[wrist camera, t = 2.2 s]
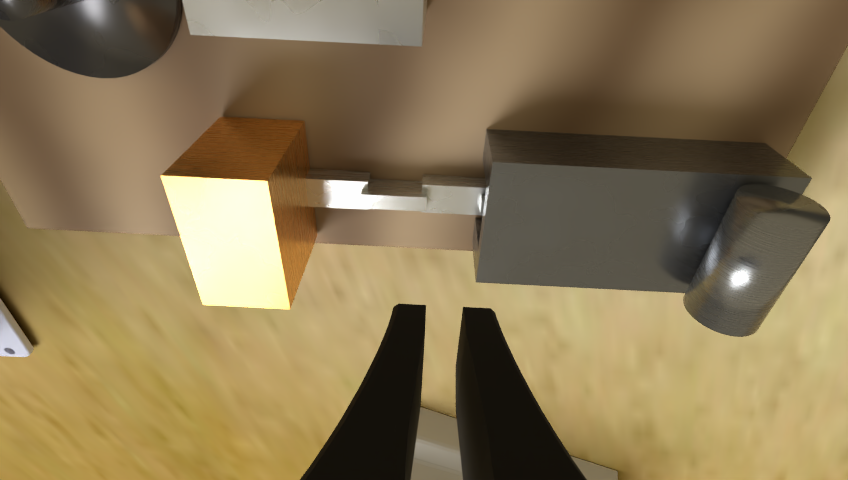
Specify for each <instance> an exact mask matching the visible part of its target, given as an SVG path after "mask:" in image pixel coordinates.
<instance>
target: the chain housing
mask: <svg viewBox="0 0 848 480" xmlns="http://www.w3.org/2000/svg"><path fill="white" fill-rule="evenodd" d="M483 166H484V172H485V179H486V185H487V187H486V194H485V202H484V209H483V216H482V218H475V223H474V231H473V239H472V244H473V256H474V267H475V278H476V282H481V283H500V284H520V285H540V286H559V287H579V288H598V289H618V290H637V291H657V292H676V293H685V295H684V299H683V301H684V306H685V308H686V310H687V311H688V312H689V314H690V315H691V316H692V317H693V318H694V319H696V320H697V321H698V322H699V323H701V324H702V325H704V326H706V327H707V328H709V329H711V330H714V331H716V332H719V333H722V334H725V335H730V336H737V337H743V336H749V335H752V334H754V333H755V332H756V331H757V330H758V329H759V327H760V325H761V324H762V322H763V321H764V319H765V318H766V316H767V315H768V313H769V312H770V310H771V309H772V307H773V306H774V304H775V303H776V301H777V300H778V298H779V297H780V295H781V294H782V292H783V291H784V289H785V288H786V286H787V285H788V283H789V282H790V280H791V279H792V277H793V276H794V274H795V273H796V271H797V270H798V268H799V267H800V265H801V264H802V262H803V261H804V259H805V258H806V256H807V255H808V253H809V252H810V250H811V249H812V247H813V246H814V244H815V243H816V241H817V240H818V238H819V236H820V235H821V233H822V232H823V230H824V229H825V227H826V226H827V224H828V223H829V221H830V215H829V213H828V212H827V210H826V209H825V208H824V207H822V206H821V205H820V204H818V203H817V202H815V201H814V200H812V199H810V198H808V197H806V196H804V195H802V194H803V192H804V191H805V189H806V187H807V186H808V184H809V182H810V180H811V179H812V178H811V177H810V176H808V175H807V174H806V173H804V172H803V171H802V170H800V169H799V168H798V167H796V166H795V165H794V164H792V163H791V162H790V161H789V160H787V159H786V158H785V157H783V156H782V155H781V154H779V153H778V152H777V151H775V150H774V149H773V148H771V147H770V146H769V145H767V144H766V143H754V142H734V141H714V140H695V139H675V138H655V137H635V136H616V135H596V134H576V133H556V132H537V131H517V130H497V129H486V136H485V144H484V152H483Z"/></svg>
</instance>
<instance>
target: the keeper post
mask: <svg viewBox="0 0 848 480" xmlns="http://www.w3.org/2000/svg"><path fill="white" fill-rule="evenodd" d="M182 11H183V2H182V0H0V27H1V28H2V29H3V30H4V31H5V32H7V33H8V34H9V35H10V36H11V37H12V38H13V39H15V40H16V41H17V42H18V43H20V44H21V45H22V46H24V47H25V48H26V49H28V50H29V51H31V52H32V53H34V54H35V55H37V56H39V57H40V58H42V59H44V60H45V61H47V62H49V63H51V64H53V65H55V66H58V67H60V68H62V69H64V70H67V71H70V72H73V73H76V74H80V75H84V76H88V77H96V78H119V77H125V76H129V75H132V74H135V73H137V72H139V71H141V70H143V69H145V68H147V67H148V66H150V65H152V64H154V63H155V62H156V61H158V60H159V59H160V58H161V57H163V55H164V54H165V53H166V52H167V51H168V50H169V48H170V47H171V45H172V43H173V42H174V40H175V38H176V36H177V33H178V30H179V28H180V23H181V19H182Z"/></svg>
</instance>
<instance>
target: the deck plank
mask: <svg viewBox="0 0 848 480" xmlns="http://www.w3.org/2000/svg"><path fill="white" fill-rule="evenodd" d="M847 46H848V0H427V12H426V19H425V26H424V34H423V41H422V47H421V46H401V45H381V44H361V43H341V42H321V41H302V40H282V39H262V38H242V37H222V36H202V35H190V31H189V27H188V23H187V19H186V15H185V10H184V6H183V11H182V19H181V23H180V28H179V30H178V33H177V36H176V38H175V40H174V42H173V43H172V45H171V47H170V48H169V50H168V51H167V52H166V53H165V54H164V55H163V57H161V58H160V59H159V60H158V61H156V62H155V63H154V64H152V65H150V66H148V67H147V68H145V69H143V70H141V71H139V72H137V73H135V74H132V75H129V76H125V77H119V78H96V77H88V76H84V75H80V74H76V73H73V72H70V71H67V70H64V69H62V68H60V67H58V66H55V65H53V64H51V63H49V62H47V61H45V60H44V59H42V58H40V57H39V56H37V55H35V54H34V53H32V52H31V51H29V50H28V49H26V48H25V47H24V46H22V45H21V44H20V43H18V42H17V41H16V40H15V39H13V38H12V37H11V36H10V35H9V34H8V33H7V32H5V31H4V30H3V29H2V28H1V27H0V180H1V182H2V184H3V185H4V187H5V189H6V191H7V193H8V194H9V196H10V198H11V200H12V202H13V203H14V205H15V207H16V209H17V211H18V212H19V214H20V216H21V218H22V219H23V221H24V223H25V225H26V227H27V228H35V229H54V230H74V231H94V232H113V233H133V234H152V235H172V236H180V233H179V230H178V227H177V224H176V221H175V218H174V215H173V212H172V209H171V206H170V203H169V200H168V197H167V193H166V190H165V187H164V184H163V181H162V178H161V175H162V174H163V173H164V172H165V171H166V170H167V169H168V168H169V167H170V166H171V165H172V164H173V163H174V162H175V161H176V160H177V159H178V158H179V157H180V156H181V155H182V154H183V153H184V152H185V151H186V150H187V149H188V148H189V147H190V146H191V145H192V144H193V143H194V142H195V141H196V140H197V139H198V138H199V137H200V136H201V135H202V134H203V133H204V132H205V131H206V130H207V129H208V128H209V127H210V126H211V125H212V124H213V123H214V122H215V121H216V120H217V119H218V118H219V117H238V118H258V119H278V120H298V121H304V122H305V130H306V139H307V148H308V156H309V165H310V169H327V170H347V171H367V172H370V179H387V180H407V181H422V179H423V174H426V175H446V176H465V177H485V172H484V166H483V152H484V144H485V136H486V129H497V130H517V131H537V132H556V133H576V134H596V135H616V136H635V137H655V138H675V139H695V140H714V141H734V142H754V143H766V144H767V145H769V146H770V147H771V148H773V149H774V150H775V151H777V152H778V153H779V154H781V155H782V156H783V157H785V158H787V156H788V154H789V152H790V150H791V148H792V147H793V145H794V143H795V141H796V139H797V137H798V136H799V134H800V132H801V130H802V128H803V126H804V124H805V123H806V121H807V119H808V117H809V115H810V113H811V112H812V110H813V108H814V106H815V104H816V102H817V101H818V99H819V97H820V95H821V93H822V91H823V90H824V88H825V86H826V84H827V82H828V80H829V79H830V77H831V75H832V73H833V71H834V69H835V68H836V66H837V64H838V62H839V60H840V58H841V57H842V55H843V53H844V51H845V49H846V47H847ZM314 209H315V217H316V226H317V238H316V240H315V243H329V244H348V245H368V246H387V247H407V248H427V249H446V250H466V251H473V244H472V239H473V231H474V223H475V218H482V216H483V215H464V214H445V213H425V212H421V211H405V210H385V209H369V210H366V209H346V208H327V207H314Z"/></svg>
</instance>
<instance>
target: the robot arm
mask: <svg viewBox="0 0 848 480" xmlns="http://www.w3.org/2000/svg"><path fill="white" fill-rule="evenodd" d="M425 315H426V305H412V304H398V305H396V306H395V307H393V311H392V315H391V319H390V322H389V325H388V327H387V330H386V333H385V335H384V338H383V340H382V342H381V345H380V347H379V349H378V351H377V354H376V356H375V358H374V360H373V362H372V364H371V366H370V368H369V370H368V372H367V374H366V376H365V378H364V380H363V382H362V384H361V385H360V387H359V389H358V391H357V393H356V394H355V396H354V398H353V399H352V401H351V403H350V405H349V406H348V408H347V410H346V411H345V413H344V415H343V417H342V418H341V420H340V422H339V423H338V425H337V426H336V428H335V430H334V431H333V433H332V434H331V436H330V437H329V439H328V440H327V442H326V443H325V445H324V446H323V448H322V449H321V451H320V452H319V454H318V455H317V457H316V458H315V460H314V461H313V463H312V464H311V465H310V467H309V468H308V470H307V471H306V472H305V474H304V475H303V476H302V478H301V479H300V480H411V473H412V466H413V459H414V451H415V444H416V437H417V429H418V422H419V415H420V405H421V389H422V372H423V355H424V339H425ZM33 350H34V349H33V346H32V345H31V343H30V342H29V340H28V339H27V337H26V336H25V334H24V333H23V331H22V330H21V328H20V327H19V325H18V324H17V322H16V321H15V319H14V318H13V316H12V315H11V313H10V312H9V310H8V309H7V307H6V306H5V304H4V303H3V301H2V300H1V298H0V356H13V357H27V356H29V355H30V354H31V353H32V352H33ZM456 417H457V427H458V437H459V447H460V456H461V466H462V476H463V480H587V479H586V478H585V476H584V475H583V473H582V472H581V471H580V469H579V468H578V466H577V465H576V463H575V462H574V461H573V459H572V458H571V456H570V455H569V453H568V452H567V450H566V449H565V447H564V446H563V444H562V442H561V441H560V439H559V438H558V436H557V435H556V433H555V431H554V430H553V428H552V426H551V425H550V423H549V422H548V420H547V418H546V417H545V415H544V413H543V412H542V410H541V408H540V406H539V405H538V403H537V401H536V400H535V398H534V396H533V394H532V392H531V390H530V388H529V387H528V385H527V383H526V381H525V379H524V377H523V375H522V374H521V372H520V370H519V368H518V366H517V364H516V362H515V360H514V358H513V355H512V353H511V351H510V349H509V347H508V345H507V342H506V340H505V338H504V336H503V333H502V331H501V328H500V326H499V323H498V320H497V318H496V315H495V312H494V311H493V310H492V309H490V308H470V307H463V313H462V321H461V329H460V337H459V345H458V353H457V361H456Z"/></svg>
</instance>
